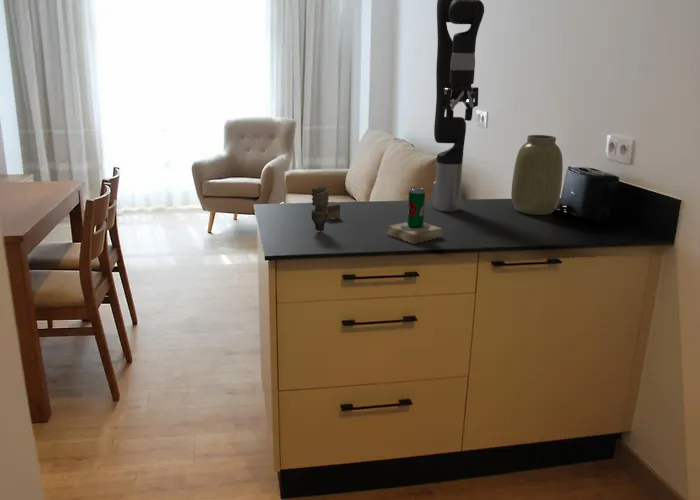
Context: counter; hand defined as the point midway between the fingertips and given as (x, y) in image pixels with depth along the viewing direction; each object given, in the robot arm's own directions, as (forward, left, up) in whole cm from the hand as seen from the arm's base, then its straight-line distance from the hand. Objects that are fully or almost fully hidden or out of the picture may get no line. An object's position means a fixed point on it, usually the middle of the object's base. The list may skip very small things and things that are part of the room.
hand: (458, 121), depth 200 cm
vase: (+4, +39, -34) cm, 52 cm away
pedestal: (+3, -20, -34) cm, 40 cm away
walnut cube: (-30, -29, -29) cm, 51 cm away
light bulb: (-17, -42, -34) cm, 57 cm away
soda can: (+3, -20, -31) cm, 37 cm away
